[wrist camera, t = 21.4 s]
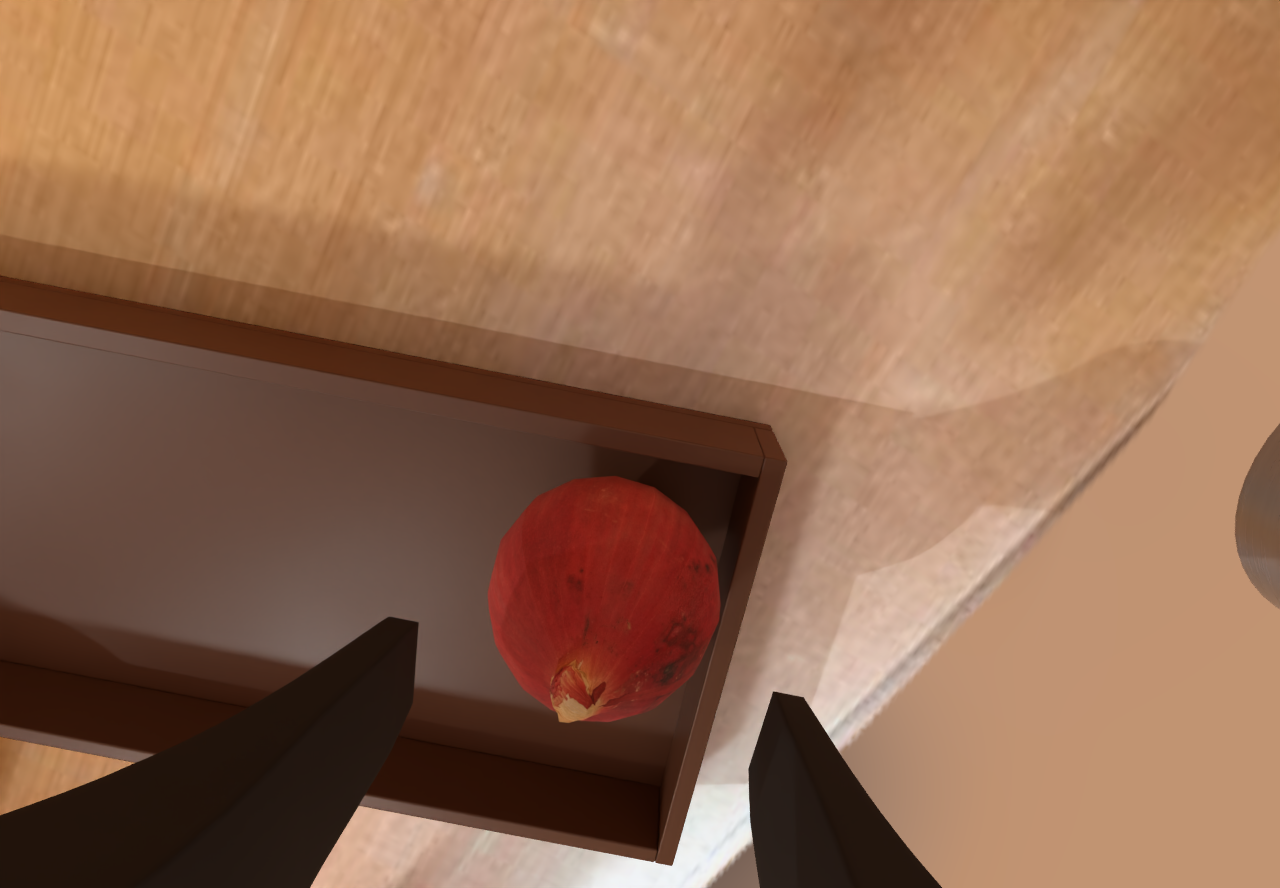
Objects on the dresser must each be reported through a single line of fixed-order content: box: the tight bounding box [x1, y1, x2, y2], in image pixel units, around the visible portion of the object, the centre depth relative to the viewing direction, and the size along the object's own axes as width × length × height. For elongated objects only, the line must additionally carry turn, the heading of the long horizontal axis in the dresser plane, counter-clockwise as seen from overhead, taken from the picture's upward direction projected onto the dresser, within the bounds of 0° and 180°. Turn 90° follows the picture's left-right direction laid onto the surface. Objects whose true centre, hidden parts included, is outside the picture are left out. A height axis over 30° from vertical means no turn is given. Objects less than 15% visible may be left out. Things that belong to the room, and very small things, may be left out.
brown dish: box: [0, 276, 787, 866], centre depth 19 cm, size 30×15×3 cm, turn 80°
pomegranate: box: [488, 476, 721, 723], centre depth 15 cm, size 6×6×8 cm
